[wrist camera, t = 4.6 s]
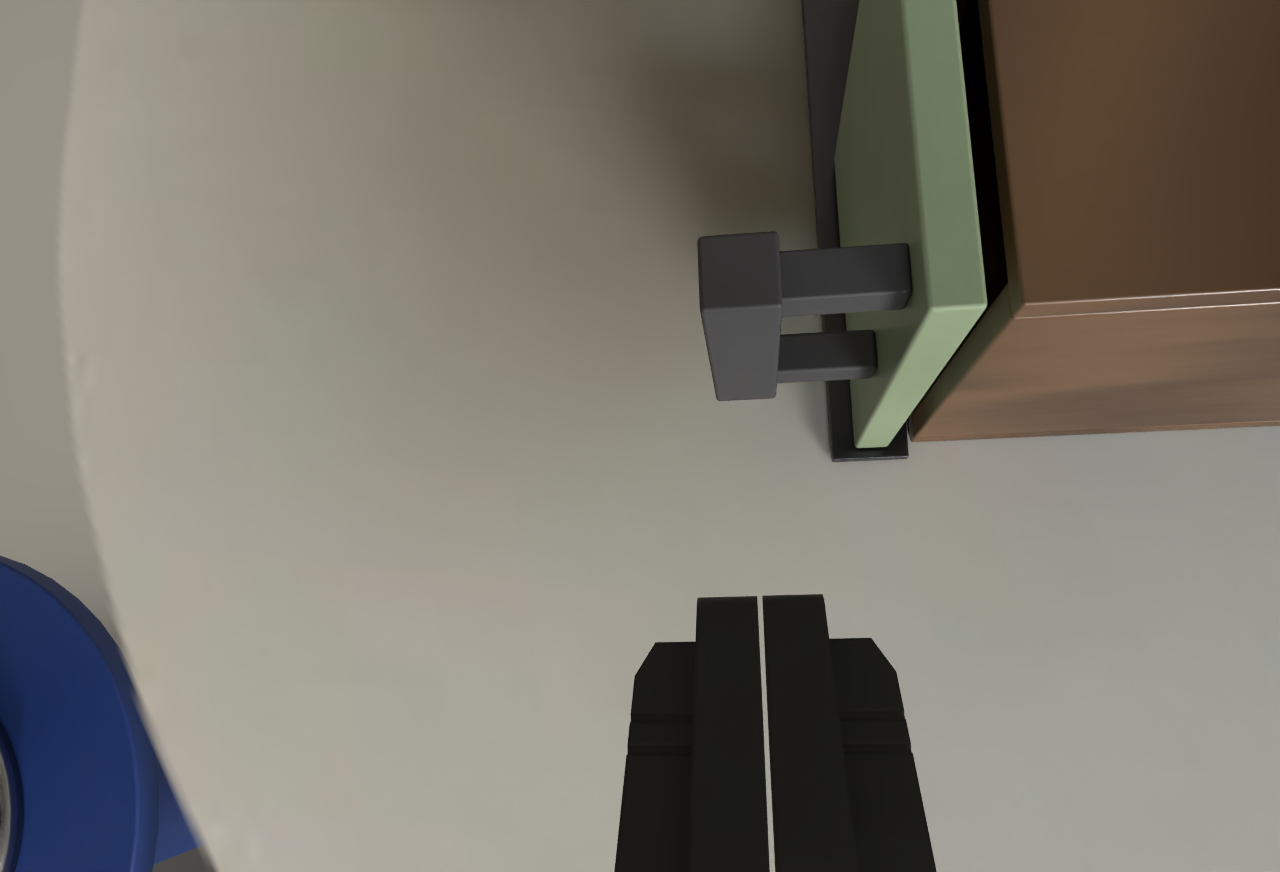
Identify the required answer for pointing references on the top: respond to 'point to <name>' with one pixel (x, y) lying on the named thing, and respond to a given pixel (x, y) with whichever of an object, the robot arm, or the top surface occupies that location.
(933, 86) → the sliding door
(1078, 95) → the cabinet
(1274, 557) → the top surface
